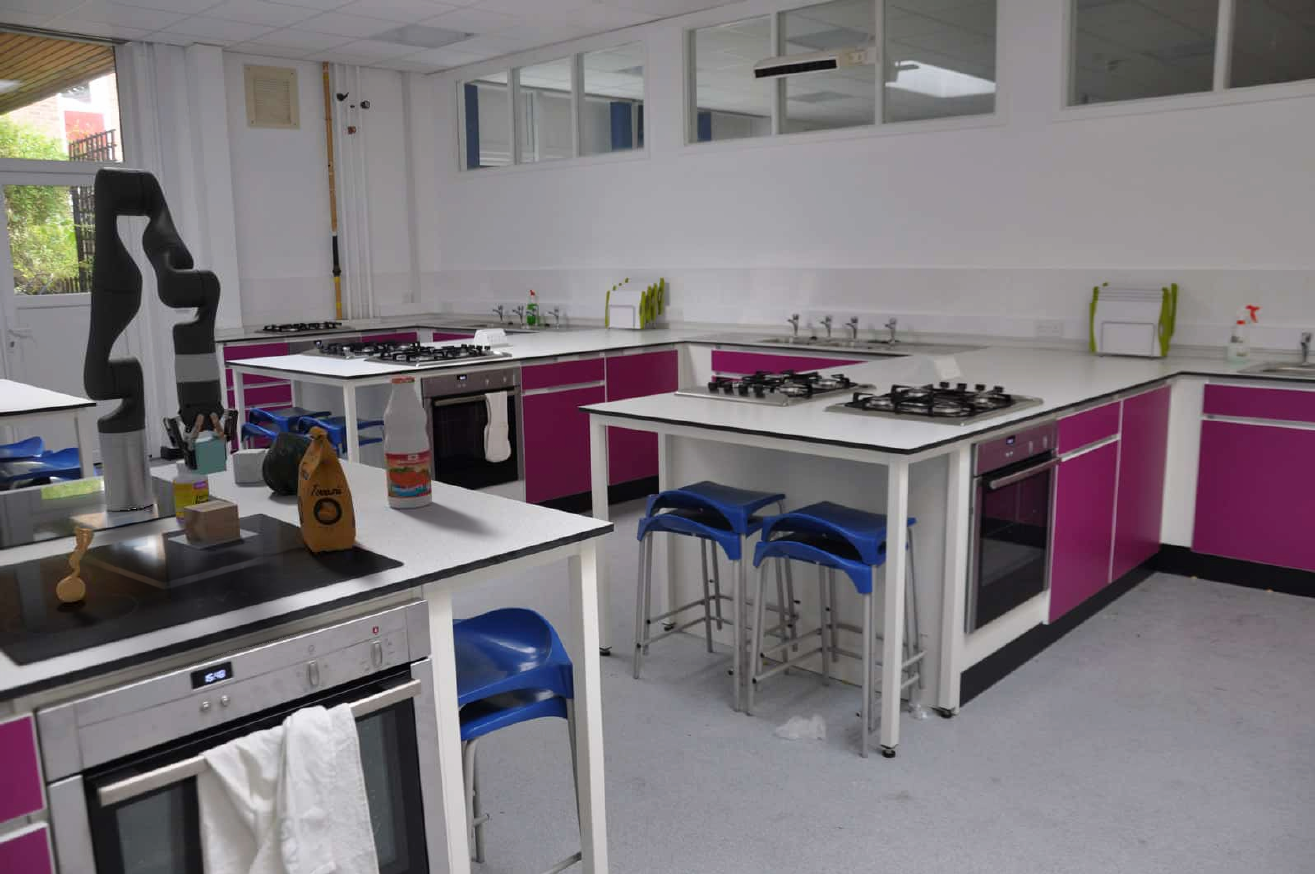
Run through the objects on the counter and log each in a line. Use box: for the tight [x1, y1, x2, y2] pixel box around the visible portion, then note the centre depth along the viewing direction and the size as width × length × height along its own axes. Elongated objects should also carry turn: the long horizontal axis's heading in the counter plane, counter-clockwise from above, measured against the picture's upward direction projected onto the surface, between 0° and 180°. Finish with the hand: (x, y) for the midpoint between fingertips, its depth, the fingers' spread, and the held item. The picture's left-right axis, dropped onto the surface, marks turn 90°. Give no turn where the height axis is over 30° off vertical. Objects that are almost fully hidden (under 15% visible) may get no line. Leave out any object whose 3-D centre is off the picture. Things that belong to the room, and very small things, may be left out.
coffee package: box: [297, 425, 357, 553], centre depth 188 cm, size 10×12×22 cm
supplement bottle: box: [172, 459, 211, 522], centre depth 208 cm, size 7×7×13 cm
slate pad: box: [167, 528, 260, 550], centre depth 194 cm, size 12×12×1 cm
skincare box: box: [231, 448, 267, 484], centre depth 249 cm, size 6×6×7 cm
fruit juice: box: [383, 375, 433, 509], centre depth 219 cm, size 9×9×28 cm
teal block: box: [187, 436, 228, 476], centre depth 191 cm, size 5×5×6 cm
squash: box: [262, 431, 313, 496], centre depth 235 cm, size 14×15×15 cm
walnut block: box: [183, 499, 241, 543], centre depth 193 cm, size 7×7×6 cm
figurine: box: [56, 526, 95, 603], centre depth 160 cm, size 8×6×12 cm
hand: (206, 466), depth 191 cm, fingers closed on teal block, 5 cm apart
